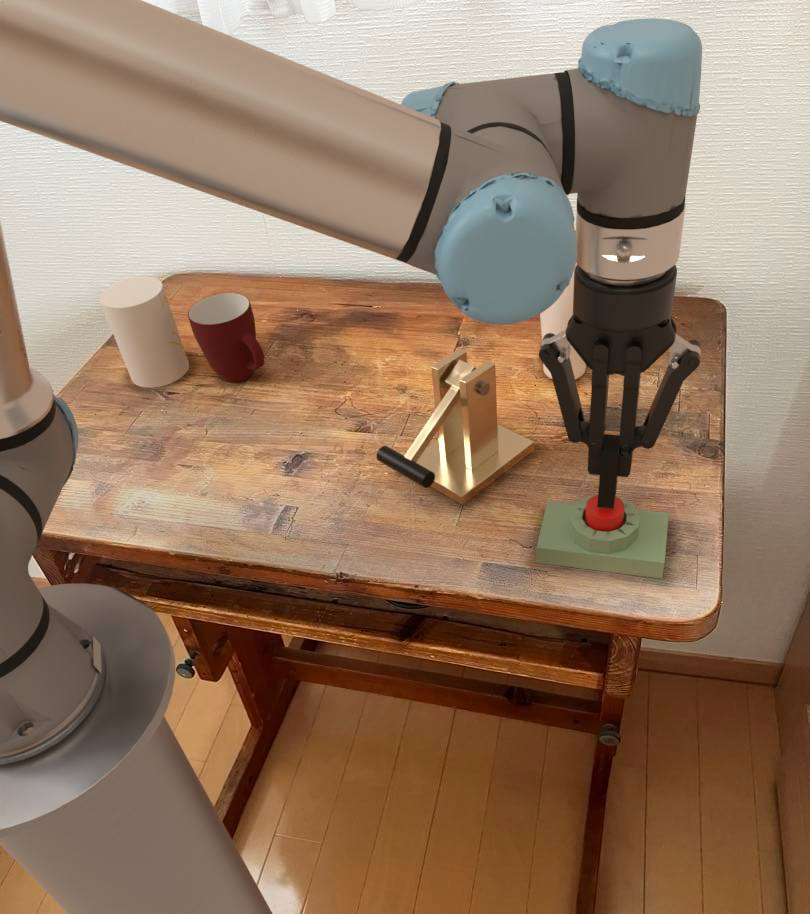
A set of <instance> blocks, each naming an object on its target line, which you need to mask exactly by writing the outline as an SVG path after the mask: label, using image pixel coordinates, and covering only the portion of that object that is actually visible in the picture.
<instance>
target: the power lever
mask: <svg viewBox="0 0 810 914" xmlns="http://www.w3.org/2000/svg"><path fill="white" fill-rule="evenodd" d="M476 368H477V367H476V365H475V366H474V365H472V364H470V363H468V362H467V363H466V362H464V361H461V360H459V361H458V362H457V364H456V365H455V367H454V368H453V370H452V371H451V373H450V374H449V376H448V377H447V379H446V380H445V383H446V384H447V385H448V386H449V387H450V389H449V390H448V392H447V393H446V395H445V396H444V398H443V399H442V401H441V402H440V404H439V405H438V407H437V408H436V409H435V410H434V411H433V412H432V414H431V416H429V418H428V420H427V421H426V423H425V424H424V425H423V427H422V428H421V430H420V432H419V433H418V434H417V436H416V437H415V439H414V440H413V442H412V444H411V445H410V447H409V448H408V449H407V451H406V452H405V454H404V455H403V454H401V452H398V451H397V450H395V449H393V448H391V447H389V446H388V445H383V446H381V447H380V448H379V449H378V450H377V452H376V460H377V461H378V462H380V463H381V464H383V465H385V466H386V467H388V468H390V469H391V470H393V471H395V472H397V473H399V474H400V475H402V476H404V477H405V478H407V479H408V480H411V481H412V482H414V483H415V484H417V485H419V486H421V487H422V488H424V489H428V488H431V487H430V486H431V485H432V484H433V482H434V480H435V474H434V473H433V472H432V471H430V470H428V469H426V468H425V467H423V466H421V465H419V464H418V463H416V462H417V461H418V459H419V458H420V456H421V455H422V453H423V452H424V450H425V449H426V447H428V446H429V445H430V444H431V443H432V441H433V439H434V437H435V435H436V434H438V430H439V428H440V427H441V425H442V424H443V422H444V421H445V419H446V418H447V416H448V415H449V413H450V412H451V411H452V409H453V408H454V406H455V405H456V403H457V402H458V400H459V399H460V397H461V393H460V379H462V378H463V377H465V376H466V375H468V374H469V373H471V372H472V371H474V370H475V369H476Z"/></svg>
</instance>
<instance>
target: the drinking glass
mask: <svg viewBox="0 0 810 914" xmlns="http://www.w3.org/2000/svg"><path fill="white" fill-rule="evenodd" d="M576 266H577V263H576V265H575V267H576ZM574 271H575V269H574ZM573 294H574V272H573V275H572V277H571V279H570V283H569V285H568V286H567V287H566V288H565V290H564V291H563V293H562V295H561V296H560V297H559V298H558V300H557V301H556V302H555V303H553V304H552V305H551V306H550V307H549V308H548V309H546V310H545V311H544V312H542V313H540V314H539V325H540V336H541V342H542V341H543V338H544V336H545V335H546V334H548V333H552V334H555V335H557V334H559V333H560V332H562V331H564V330H566V328H567V324H568V321H569V320H570V318H571V317H572V315H573ZM570 347H571V352H570V355H569V358H570V361H571V365H572V369H573V373H574V377H575V381H576V380H578V379H580V378H581V377H582V376H584V374H585V372H586V371H587V365H586V364H585V362H584V361H583V360H582V359H581V357H580V356H579V355H578V353H577V352H576V351H575V349H574V348H573V347H572V346H571V345H570ZM542 370H543V374H544V375H545V376H546V377H547V378H549V379H550V380H552V376H551V373H550V371H549V370H548V369H547V367H546V366H545V365H544V363H543V362H542Z"/></svg>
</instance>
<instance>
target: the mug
mask: <svg viewBox="0 0 810 914" xmlns="http://www.w3.org/2000/svg"><path fill="white" fill-rule="evenodd" d="M187 317H188V321H189V325H190V328H191V332H192V334H193V336H194V338H195V340H196V343H197V345H198V346H199V348H200V349H201V353H203V355H204V357H205V359H206V361H207V363H208V364H209V367H210V368H211V369H212V370H213V371H214V372H215V373H216V374H218V376H219V377H220V378H221V379H223V380H224V381H225V382H226V383H230V384H231V383H232V384H235V383H242V382H244V381H245V380H248V379H249V378H251V376H252V375H253V372H254V371H256V370H259V369H261V368H262V367H263V366H264V364H265V360H266V359H265V354H264V351H263V348H262V346H261V344H260V343H259V340H257V332H256V331H257V330H256V320H255V316H254V311H253V308H252V305H251V301H250V300H249V298H248V297H247V296H246V295H243V294H241V293H236V292H221V293H217V294H216V293H215V294H212V295H208V296H206V297H204V298H202V299H200V300H198V301H196V302H195V303H193V305H191V307H189V309H188V312H187Z"/></svg>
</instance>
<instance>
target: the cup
mask: <svg viewBox="0 0 810 914" xmlns="http://www.w3.org/2000/svg"><path fill="white" fill-rule="evenodd" d="M99 302H100V305H101V307H102V310H103V312H104V314H105V317H106V320H107V322H108V325H109V327H110V329H111V332H112V335H113V337H114V339H115V342H116V344H117V347H118V350H119V352H120V354H121V357H122V359H123V361H124V364H125V367H126V369H127V372H128V375H129V378H130V379H131V382H132V383H133V384H134V385H136V386H138V387H141V388H146V389H150V388H151V389H153V388H154V389H155V388H160V387H164V386H167V385H171V384H173V383H175V382H176V381H178V380H180V379H181V378H183V377H184V376H185V375H186V374H187V372H188V371H189V369H190V362H189V359H188V356H187V353H186V350H185V348H184V347H185V346H184V344H183V341H182V338H181V336H180V332H179V330H178V329H179V328H178V327H177V323H176V321H175V317H174V314H173V311H172V309H171V305H170V302H169V299H168V297H167V294H166V291H165V287H164V284H163V283H162V281H161V280H160V279H158V278H156V277H153V276H135V277H130V278H126V279H123V280H120V281H117V282H115V283H113V284H111V285H110V286H108V287H106V288H105V289H104V290H103V291H102V292H101V294H100V295H99Z"/></svg>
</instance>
